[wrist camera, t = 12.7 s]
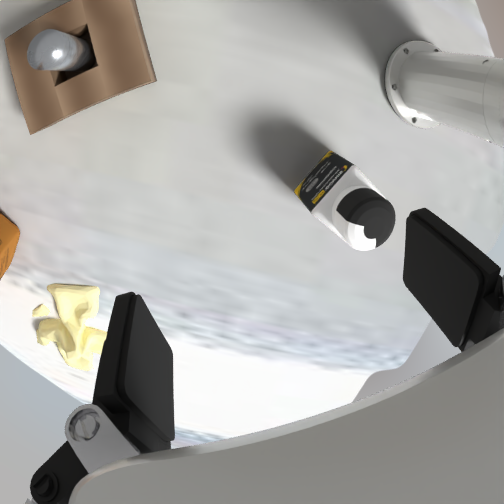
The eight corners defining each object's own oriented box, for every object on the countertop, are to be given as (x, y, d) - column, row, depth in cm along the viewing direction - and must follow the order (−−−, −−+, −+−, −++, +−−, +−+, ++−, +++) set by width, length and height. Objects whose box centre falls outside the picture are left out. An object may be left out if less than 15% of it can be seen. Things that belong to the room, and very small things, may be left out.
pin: (93, 35, 25) (59, 21, 16) (101, 63, 26) (68, 57, 18) (64, 49, 24) (23, 42, 16) (72, 76, 26) (32, 77, 18)
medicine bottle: (329, 148, 37) (378, 179, 27) (363, 182, 40) (414, 221, 30) (292, 190, 39) (327, 235, 29) (328, 221, 43) (369, 269, 32)
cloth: (77, 260, 40) (64, 286, 34) (154, 341, 49) (152, 370, 44) (1, 317, 42) (-11, 341, 37) (70, 378, 52) (65, 403, 46)
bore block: (132, -10, 23) (123, -23, 19) (156, 81, 30) (151, 81, 26) (25, 41, 23) (4, 39, 19) (48, 126, 29) (30, 135, 25)
